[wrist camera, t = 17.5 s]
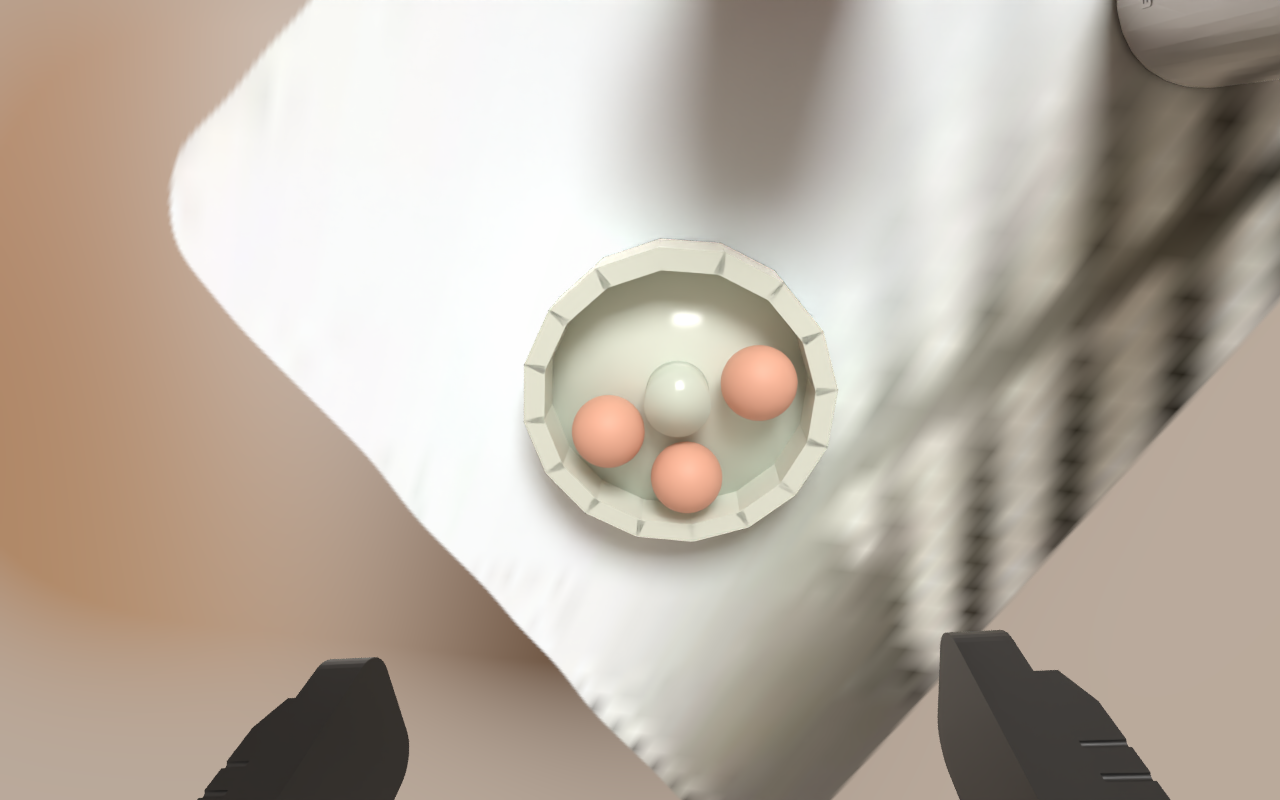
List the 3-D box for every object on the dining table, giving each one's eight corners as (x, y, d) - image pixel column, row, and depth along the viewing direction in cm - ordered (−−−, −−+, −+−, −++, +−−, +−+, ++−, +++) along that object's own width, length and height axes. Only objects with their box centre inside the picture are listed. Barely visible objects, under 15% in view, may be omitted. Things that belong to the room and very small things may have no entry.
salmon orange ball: (796, 339, 32) (809, 360, 29) (785, 407, 34) (797, 435, 30) (722, 333, 33) (727, 354, 29) (714, 401, 34) (718, 429, 30)
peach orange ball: (720, 487, 36) (728, 523, 32) (654, 494, 36) (654, 530, 32) (716, 426, 34) (723, 457, 31) (647, 433, 35) (647, 464, 31)
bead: (557, 395, 33) (567, 439, 30) (625, 371, 33) (641, 412, 30) (579, 446, 35) (590, 492, 32) (643, 424, 35) (659, 467, 32)
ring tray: (844, 251, 32) (861, 262, 29) (798, 519, 37) (808, 552, 34) (538, 229, 32) (524, 236, 29) (535, 497, 38) (523, 526, 35)
